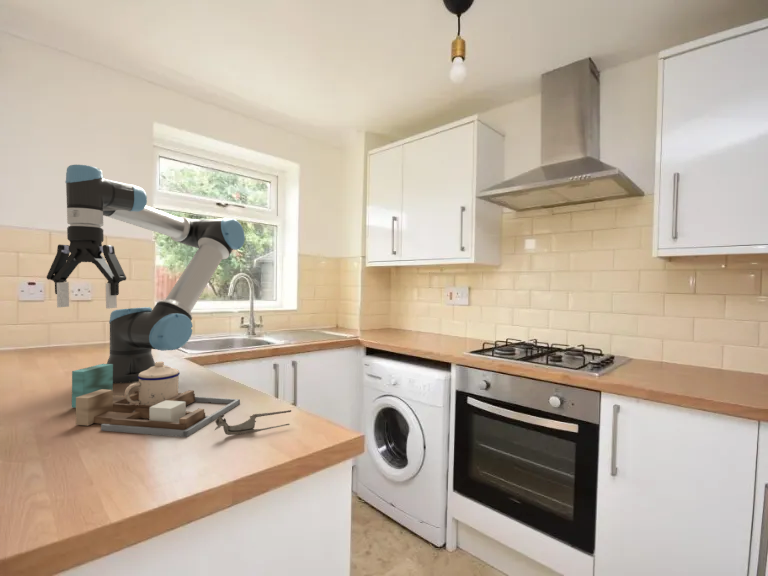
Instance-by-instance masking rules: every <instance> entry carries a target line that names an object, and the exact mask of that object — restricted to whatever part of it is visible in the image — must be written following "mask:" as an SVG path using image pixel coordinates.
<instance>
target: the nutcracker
mask: <svg viewBox="0 0 768 576" xmlns="http://www.w3.org/2000/svg"><path fill="white" fill-rule="evenodd" d="M291 412H292V410H291V409H289V410H288V409H287V410H283V411H280V410H279V411H272V412H264V413H263V412H262V413H254V414H252V415H249V419H247V420H246V421H243V422H242V423H238V424H234V425H229V424H228V422H227V418H224V417H225V414H223V415H221V416H219V417H217V418H216V419H215V420H214V422H215V425H216V427H215V429H214V431H216V430H218V429H220V428H221V427H223V431H224V434H225V435H227V436H238V435H244V434H251V433H255V432H261V431H265V430H270V429H274V428H280V427H285V426H289V425H290V423H286V424H280V425H276V426H270V427H265V428H264V427H263V428H255V426H256V422H257V421H256V419H257V418H261V417H267V416H272V415H279V414H286V413H291Z"/></svg>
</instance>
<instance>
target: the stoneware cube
mask: <svg viewBox="0 0 768 576" xmlns="http://www.w3.org/2000/svg"><path fill="white" fill-rule="evenodd" d="M186 406H187V405H186V402H184V401H169V400H165V401H163V402H160V403H158V404H156V405H154V406H151V407H150V409H149V418H148V419H149V421H163V422H176V423H179V419H180V418H182V417H184V416H185V415H186V411H187V409H186Z"/></svg>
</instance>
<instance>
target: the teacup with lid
mask: <svg viewBox="0 0 768 576" xmlns="http://www.w3.org/2000/svg"><path fill="white" fill-rule="evenodd" d="M179 376H180V371H179V370H178V369H177V368H174V367H171V366H168V365H166V364H165V363H164V361H155V366H153V367H151V368H149V369H147V370H145V371H142V372H140V373H139V375H138V378H139V382H132V383H130V384H129V385H128V386H127V387H126V388H125V390H124V396H125V398H126V399H127V401H128V402H129V404H135V405H149V406H154V405H156V404H158V403H160V402H163V401H165V400H168V399H170V398H173V397H175V396H177V395H178V393H179V383H180V381H179ZM135 387H138V390H139V399H137V400H131V399H130V397H129V395H130V391H131V389H133V388H135Z"/></svg>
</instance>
